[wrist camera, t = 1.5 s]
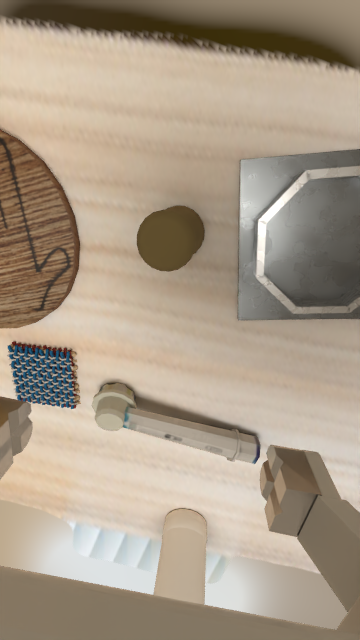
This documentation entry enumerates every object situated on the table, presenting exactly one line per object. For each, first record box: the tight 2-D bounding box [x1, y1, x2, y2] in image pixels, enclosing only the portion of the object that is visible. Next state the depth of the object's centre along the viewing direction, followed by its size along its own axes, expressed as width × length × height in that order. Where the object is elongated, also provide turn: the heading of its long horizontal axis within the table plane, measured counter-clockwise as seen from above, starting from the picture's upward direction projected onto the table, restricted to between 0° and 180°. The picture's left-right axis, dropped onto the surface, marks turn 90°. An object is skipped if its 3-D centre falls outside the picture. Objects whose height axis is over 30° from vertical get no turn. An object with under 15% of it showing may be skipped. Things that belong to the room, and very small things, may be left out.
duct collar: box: [238, 149, 360, 320], centre depth 30 cm, size 18×18×3 cm
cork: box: [137, 206, 204, 271], centre depth 28 cm, size 6×6×11 cm
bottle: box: [154, 509, 207, 605], centre depth 38 cm, size 8×8×30 cm
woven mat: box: [8, 342, 81, 409], centre depth 43 cm, size 10×11×2 cm
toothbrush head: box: [92, 383, 261, 464], centre depth 41 cm, size 5×7×25 cm
